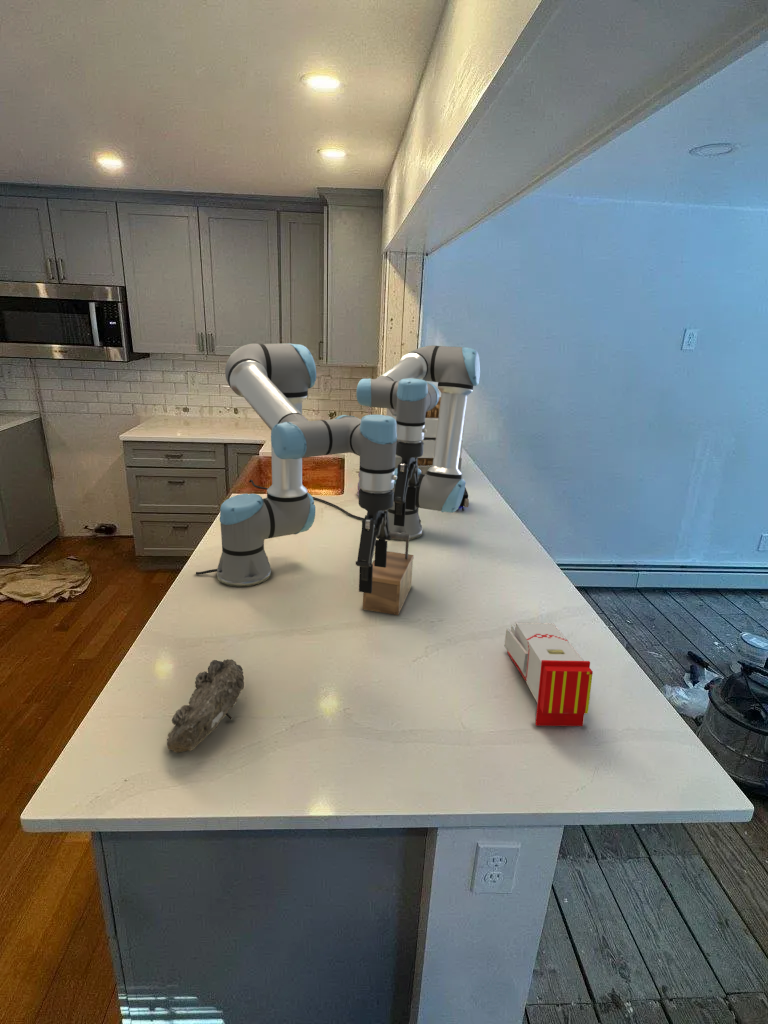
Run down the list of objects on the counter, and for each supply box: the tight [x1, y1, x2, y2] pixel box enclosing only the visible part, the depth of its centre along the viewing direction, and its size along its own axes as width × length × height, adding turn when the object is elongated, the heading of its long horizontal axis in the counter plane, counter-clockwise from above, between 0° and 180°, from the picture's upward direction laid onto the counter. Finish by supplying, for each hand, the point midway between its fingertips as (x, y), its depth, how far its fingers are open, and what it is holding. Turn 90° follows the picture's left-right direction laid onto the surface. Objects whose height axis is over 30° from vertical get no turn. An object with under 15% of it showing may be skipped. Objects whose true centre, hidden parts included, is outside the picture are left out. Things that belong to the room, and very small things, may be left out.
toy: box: [503, 622, 594, 727], centre depth 121 cm, size 12×13×30 cm
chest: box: [362, 559, 414, 616], centre depth 154 cm, size 17×10×9 cm, turn 166°
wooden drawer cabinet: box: [385, 396, 465, 473], centre depth 268 cm, size 34×33×41 cm
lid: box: [372, 532, 414, 585], centre depth 151 cm, size 17×10×8 cm, turn 166°
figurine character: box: [455, 486, 470, 512], centre depth 229 cm, size 7×8×15 cm
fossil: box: [166, 658, 245, 754], centre depth 106 cm, size 22×10×15 cm
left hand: (373, 578), depth 128 cm, fingers open, 13 cm apart
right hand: (404, 517), depth 154 cm, fingers open, 13 cm apart
